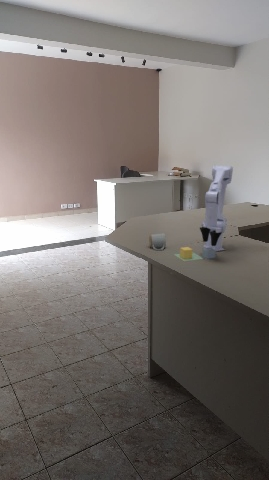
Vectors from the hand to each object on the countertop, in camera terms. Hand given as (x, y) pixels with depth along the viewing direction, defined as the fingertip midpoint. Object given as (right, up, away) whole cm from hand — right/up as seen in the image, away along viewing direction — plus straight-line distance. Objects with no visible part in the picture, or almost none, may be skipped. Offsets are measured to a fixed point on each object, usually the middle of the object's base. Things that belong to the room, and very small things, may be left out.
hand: (209, 243), depth 179 cm
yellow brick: (-11, -7, +1) cm, 13 cm away
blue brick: (0, -7, +2) cm, 8 cm away
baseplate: (-10, -7, +3) cm, 12 cm away
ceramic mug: (-24, -3, +17) cm, 29 cm away
